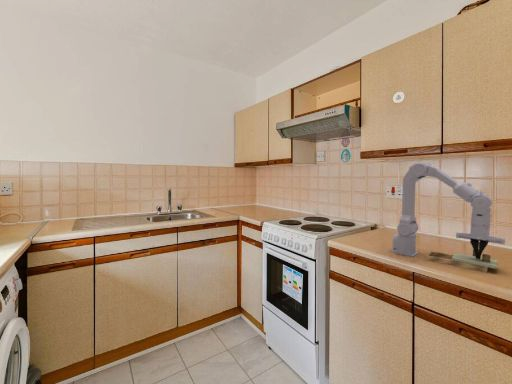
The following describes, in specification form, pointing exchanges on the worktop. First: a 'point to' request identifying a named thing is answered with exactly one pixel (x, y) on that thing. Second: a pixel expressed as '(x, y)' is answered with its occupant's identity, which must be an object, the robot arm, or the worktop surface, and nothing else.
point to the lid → (476, 260)
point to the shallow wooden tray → (448, 260)
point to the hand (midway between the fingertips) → (478, 258)
